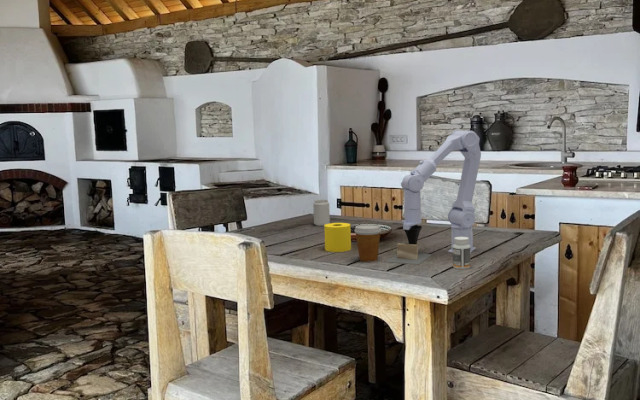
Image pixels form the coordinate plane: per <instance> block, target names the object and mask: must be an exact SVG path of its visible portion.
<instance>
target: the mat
mask: <svg viewBox="0 0 640 400" xmlns="http://www.w3.org/2000/svg"><path fill="white" fill-rule="evenodd" d="M431 256H433V254H432V253H431V254H430V253H419V252H418V259H417V260H413V259H401V258H397V254H395V255H393V256H392V257H390V258H388V259H387V260H385V263H389V264H391V263H392V264H404V265H416V266H417V265H418V266H420V265H421V264H422V263H423V262H425V261H427V260H428V259H429V258H430V257H431Z"/></svg>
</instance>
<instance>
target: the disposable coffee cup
mask: <svg viewBox="0 0 640 400" xmlns="http://www.w3.org/2000/svg"><path fill="white" fill-rule="evenodd" d="M354 233H355V236H356V237H355V238H356V244H357V245H356V246H357V250H358V251H357V252H358V258H359V261H360V262H365V263H367V262H375V261H378V259H379V257H378V256H379V251H380V250H379V247H380V239H381V238H380V237H381V233H382V229H381V225H378V224H371V223H370V224H366V223H365V224H360V225H359V224H358V225H356V226H355V229H354Z"/></svg>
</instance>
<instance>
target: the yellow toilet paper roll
mask: <svg viewBox="0 0 640 400" xmlns="http://www.w3.org/2000/svg"><path fill="white" fill-rule="evenodd" d="M351 226H352V225H351V223H348V222H332V223H331V222H330V223H329V224H325V225H324V226H323V227H324V230H323V231H324V251H327V252H330V253H344V252H348V251H351V250H352V237H351V236H352V235H351V234H352V231H351V230H352V229H351Z"/></svg>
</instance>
